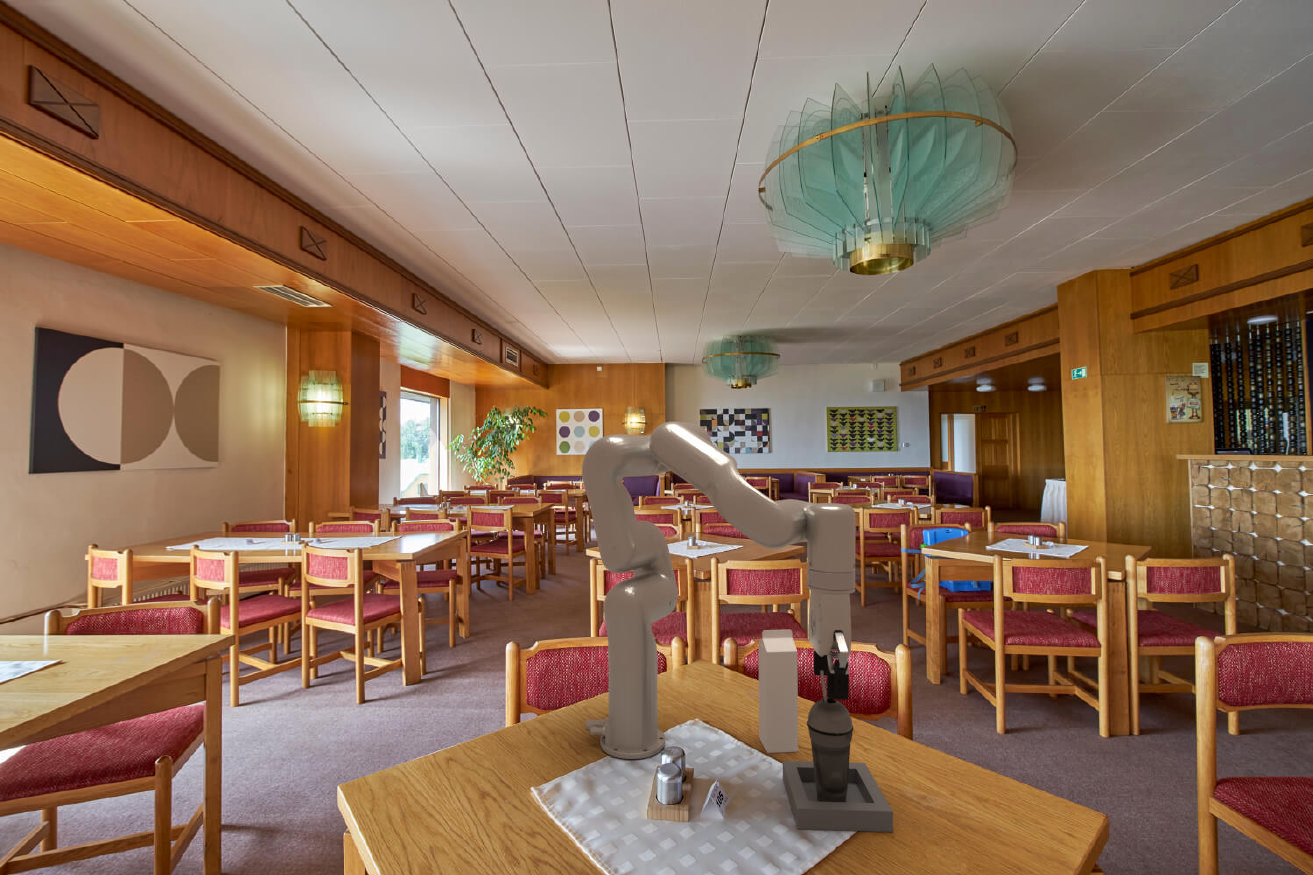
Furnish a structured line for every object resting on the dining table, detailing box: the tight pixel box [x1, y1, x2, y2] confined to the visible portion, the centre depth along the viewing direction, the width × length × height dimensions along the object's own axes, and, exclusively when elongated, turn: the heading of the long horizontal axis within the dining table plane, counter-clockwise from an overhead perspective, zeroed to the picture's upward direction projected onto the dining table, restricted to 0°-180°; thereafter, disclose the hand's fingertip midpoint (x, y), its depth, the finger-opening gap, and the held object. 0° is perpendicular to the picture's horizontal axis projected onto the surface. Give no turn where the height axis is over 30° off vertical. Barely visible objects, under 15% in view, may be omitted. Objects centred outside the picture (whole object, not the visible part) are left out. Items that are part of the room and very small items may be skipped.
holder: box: [782, 760, 894, 833], centre depth 96 cm, size 14×14×3 cm
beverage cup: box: [806, 670, 854, 802], centre depth 96 cm, size 7×7×20 cm
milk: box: [758, 629, 799, 754], centre depth 115 cm, size 6×6×22 cm
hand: (830, 686), depth 96 cm, fingers open, 9 cm apart
